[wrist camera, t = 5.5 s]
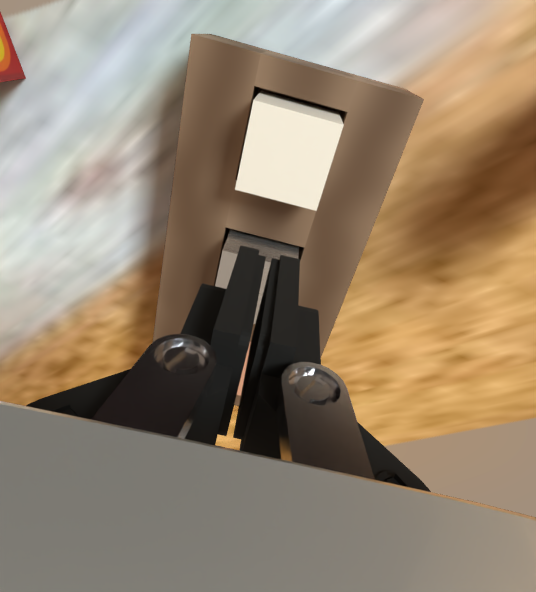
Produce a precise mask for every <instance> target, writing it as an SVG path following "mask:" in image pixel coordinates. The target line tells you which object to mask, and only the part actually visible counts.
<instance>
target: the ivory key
mask: <svg viewBox="0 0 536 592" xmlns="http://www.w3.org/2000/svg"><path fill="white" fill-rule="evenodd" d="M343 126H344V124H343V122H342V119H341V117H340V114H339V112H337V111H333V110H329V109H326V108H322V107H319V106H315V105H311V104H308V103H304V102H300V101H297V100H293V99H290V98H286V97H282V96H279V95H275V94H272V93H268V92H264V91H261V92H260V93H259V94H258V95H257V96H256V97H255V99H254V100H253V104H252V109H251V114H250V119H249V124H248V129H247V134H246V138H245V143H244V148H243V153H242V158H241V163H240V168H239V172H238V177H237V182H236V187H235V190H239V191H242V192H246V193H250V194H254V195H258V196H261V197H265V198H269V199H273V200H277V201H281V202H284V203H288V204H292V205H296V206H300V207H303V208H307V209H311V210H315V211H317V208H318V204H319V201H320V198H321V195H322V192H323V189H324V186H325V182H326V179H327V176H328V173H329V170H330V167H331V164H332V160H333V157H334V154H335V151H336V148H337V145H338V142H339V138H340V135H341V132H342V129H343Z"/></svg>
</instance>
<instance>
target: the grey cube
mask: <svg viewBox="0 0 536 592" xmlns="http://www.w3.org/2000/svg"><path fill="white" fill-rule="evenodd" d="M240 246H246V247H250V248H254V249H258V250H259V255H261V256H265V257H266V260H265V265H264V270H263V275H262V281H261V286H260V291H259V297H258V302H257V307H256V312H255V318H254V323H253V324H255V323H256V319H257V315H258V311H259V307H260V303H261V299H262V296H263V292H264V288H265V284H266V280H267V276H268V272H269V268H270V264H271V260H272V258H274V259H278V260H279V258H280V255H284V256H288V257H292V258H297V259H298V254H299V246H296V245H292V244H289V243H285V242H281V241H277V240H273V239H269V238H265V237H261V236H257V235H254V234H250V233H246V232H242V231H238V230H234V229H231V230H230V233H229V235H228V238H227V240H226V243H225V245H224V248H223V250H222V255H221V260H220V265H219V270H218V274H217V279H216V284H215V286H216V287H221V288H225V289H227V286H228V283H229V280H230V277H231V273H232V270H233V267H234V264H235V261H236V258H237V255H238V252H239V248H240Z"/></svg>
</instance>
